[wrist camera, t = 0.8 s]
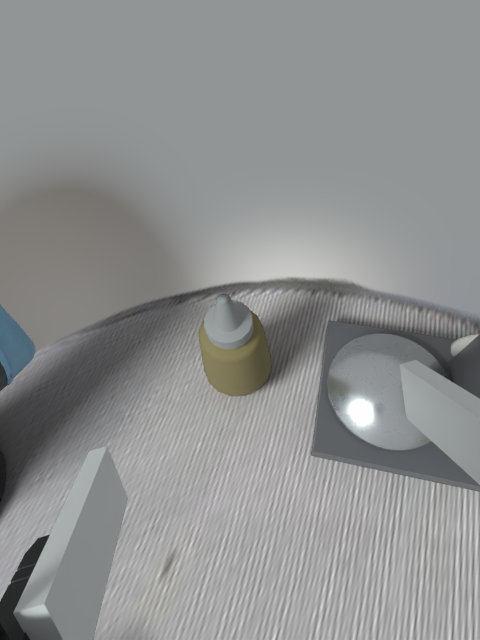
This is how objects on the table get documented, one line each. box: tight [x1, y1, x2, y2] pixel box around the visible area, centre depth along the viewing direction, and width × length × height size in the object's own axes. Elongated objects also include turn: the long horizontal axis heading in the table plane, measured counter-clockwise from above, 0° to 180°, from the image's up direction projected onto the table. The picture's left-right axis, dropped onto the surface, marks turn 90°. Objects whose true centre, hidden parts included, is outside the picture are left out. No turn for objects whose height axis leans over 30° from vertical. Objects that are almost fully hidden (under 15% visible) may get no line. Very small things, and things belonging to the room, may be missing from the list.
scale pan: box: [327, 333, 449, 451], centre depth 40 cm, size 13×13×1 cm
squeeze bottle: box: [199, 294, 271, 396], centre depth 38 cm, size 8×8×18 cm
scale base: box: [311, 321, 480, 492], centre depth 39 cm, size 19×16×10 cm
